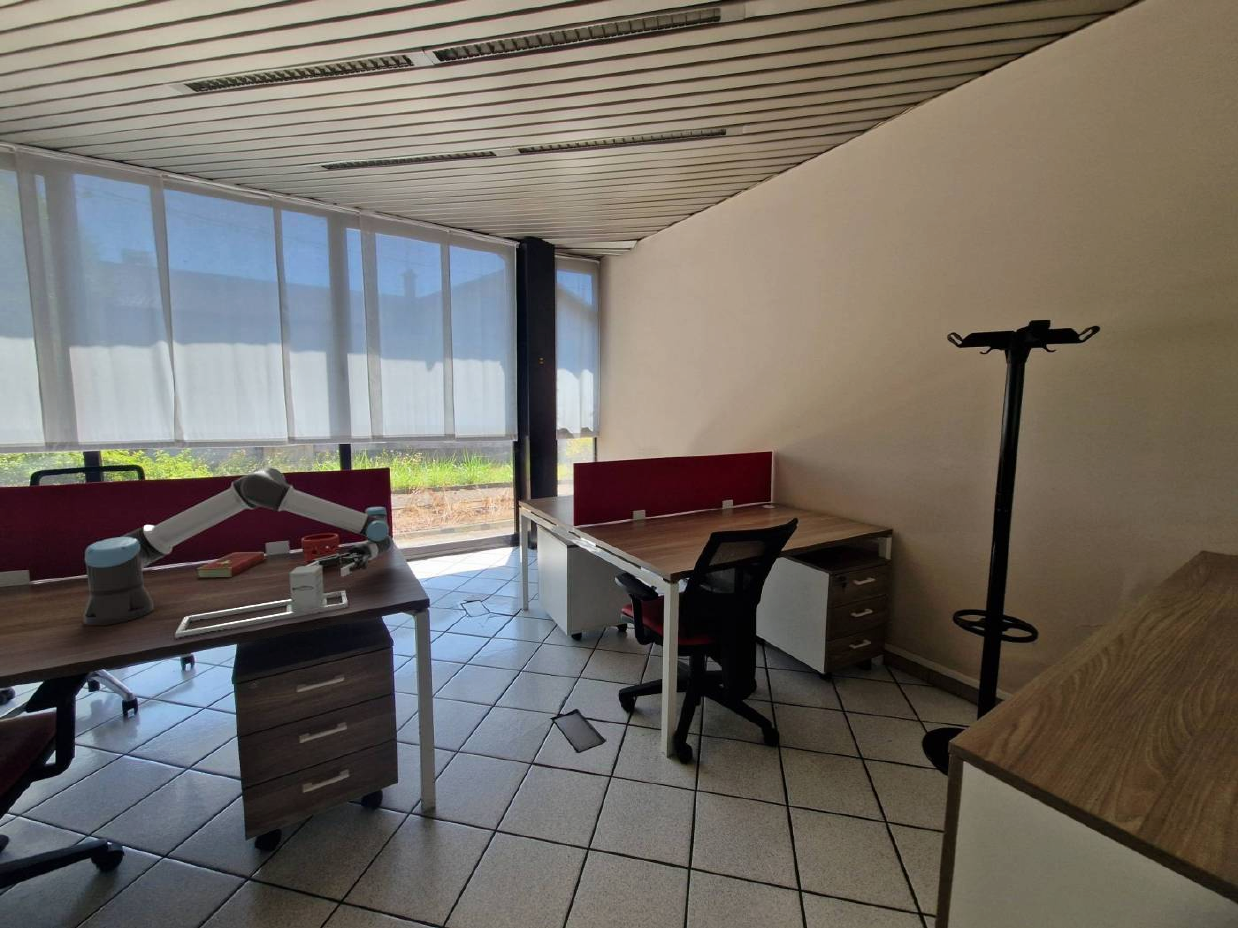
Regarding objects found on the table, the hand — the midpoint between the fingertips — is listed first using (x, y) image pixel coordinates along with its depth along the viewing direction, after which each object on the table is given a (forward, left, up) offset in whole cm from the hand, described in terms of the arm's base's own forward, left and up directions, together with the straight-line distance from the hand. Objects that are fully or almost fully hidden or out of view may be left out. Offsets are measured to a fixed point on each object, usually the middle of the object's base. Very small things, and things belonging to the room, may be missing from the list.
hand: (323, 571), depth 166 cm
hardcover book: (-30, +54, -10) cm, 63 cm away
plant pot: (0, +42, -10) cm, 43 cm away
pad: (-5, -6, -9) cm, 12 cm away
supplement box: (-5, -6, -9) cm, 12 cm away
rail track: (-15, -6, -9) cm, 19 cm away
